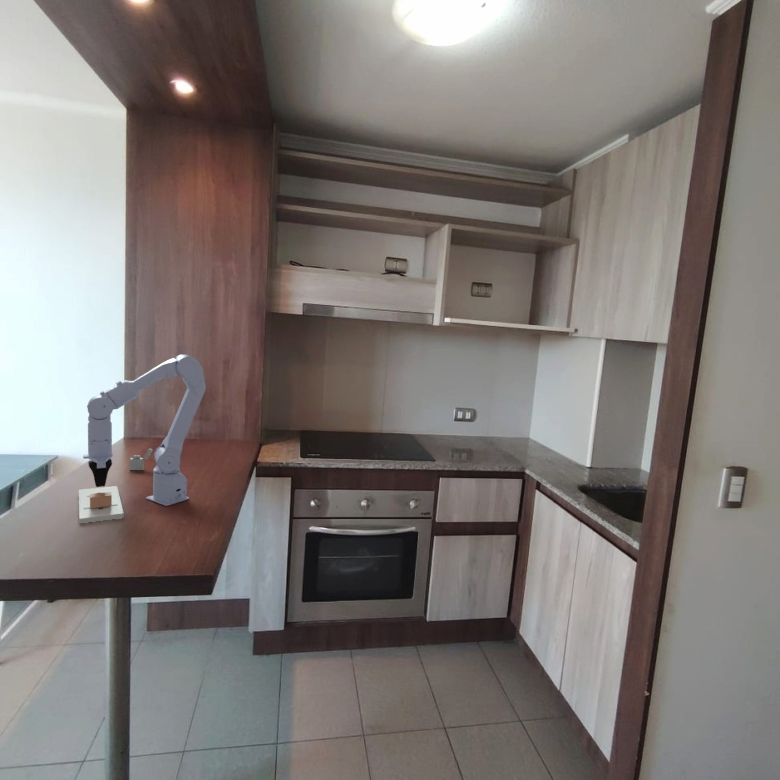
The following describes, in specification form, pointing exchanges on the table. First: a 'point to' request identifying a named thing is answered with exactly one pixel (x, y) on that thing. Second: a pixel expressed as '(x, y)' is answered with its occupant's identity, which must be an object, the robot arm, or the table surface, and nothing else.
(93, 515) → the fader board
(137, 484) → the table surface
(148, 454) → the lighter
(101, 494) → the block
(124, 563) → the table surface
